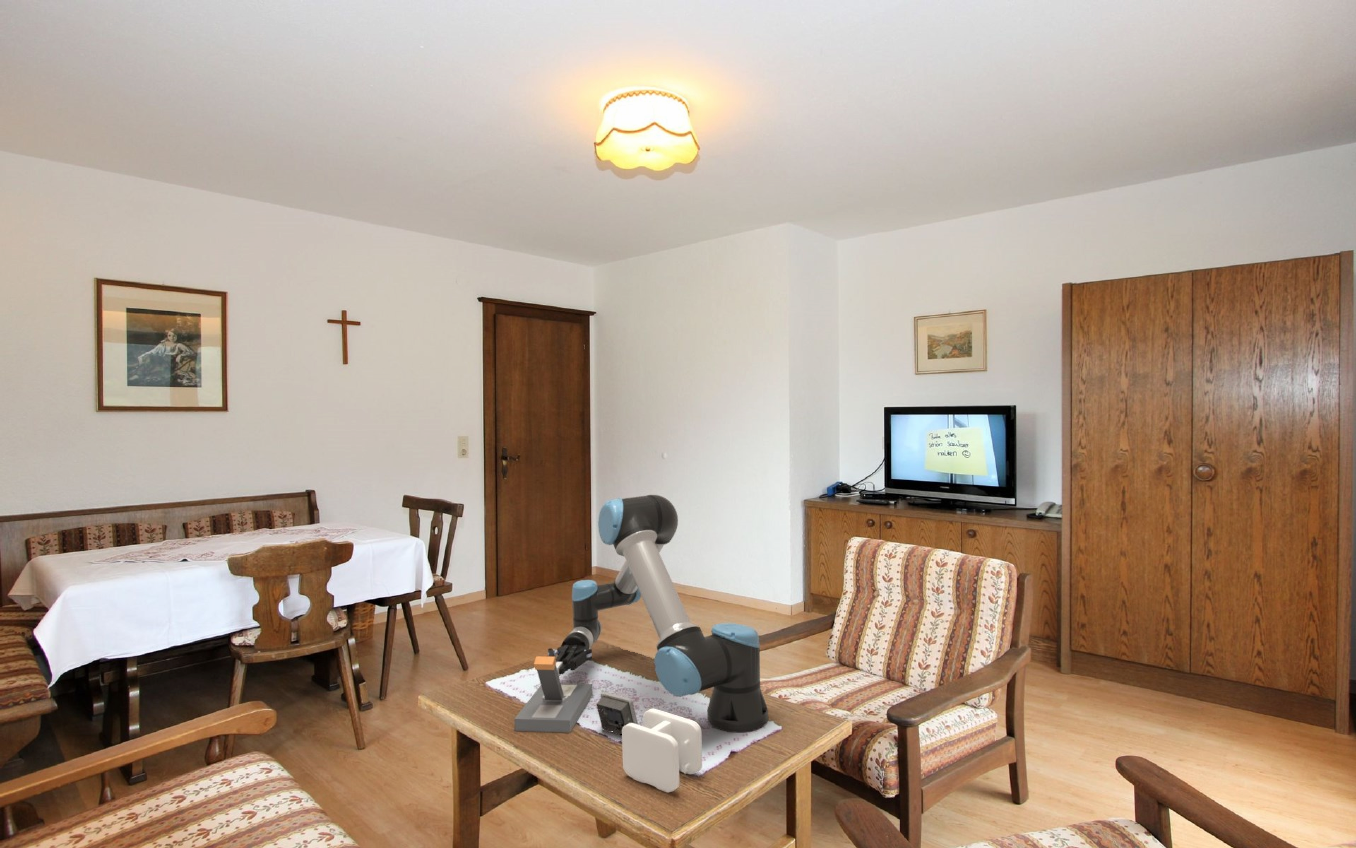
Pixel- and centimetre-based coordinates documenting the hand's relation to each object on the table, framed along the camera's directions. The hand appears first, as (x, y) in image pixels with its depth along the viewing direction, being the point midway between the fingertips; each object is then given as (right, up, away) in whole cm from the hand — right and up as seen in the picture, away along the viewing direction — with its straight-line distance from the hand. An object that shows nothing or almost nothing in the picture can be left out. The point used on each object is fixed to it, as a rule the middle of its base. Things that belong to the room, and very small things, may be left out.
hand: (552, 676), depth 180 cm
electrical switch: (+18, -10, -10) cm, 23 cm away
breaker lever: (0, -6, +1) cm, 6 cm away
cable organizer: (+29, -10, -30) cm, 43 cm away
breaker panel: (+1, -10, +2) cm, 10 cm away
